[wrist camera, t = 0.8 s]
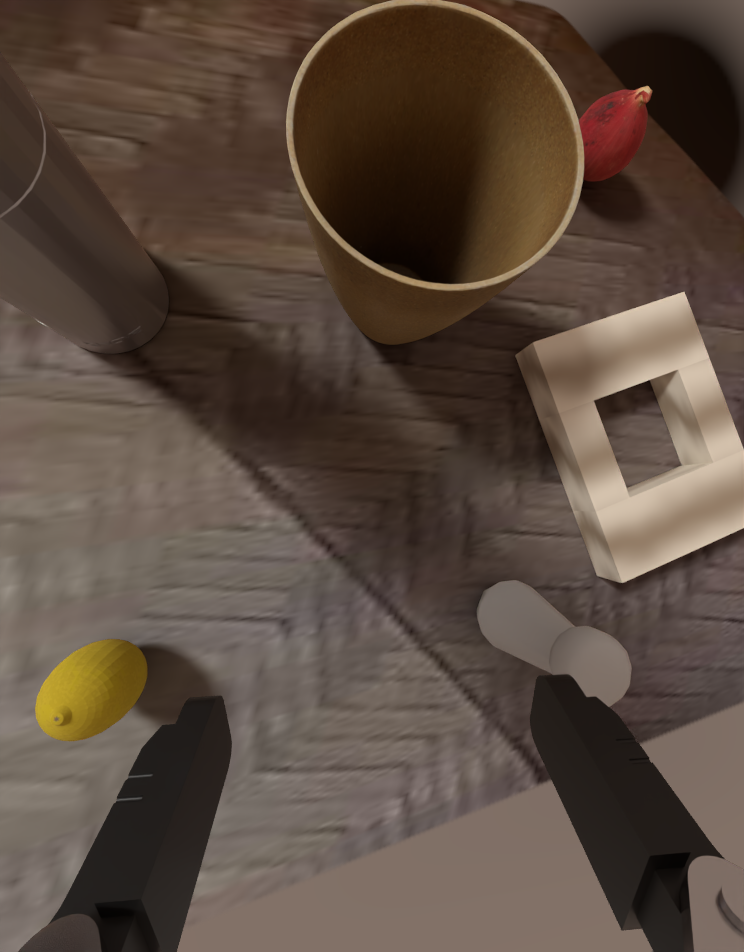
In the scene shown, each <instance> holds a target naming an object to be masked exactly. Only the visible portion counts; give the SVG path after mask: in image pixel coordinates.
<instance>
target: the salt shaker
mask: <svg viewBox="0 0 744 952" xmlns="http://www.w3.org/2000/svg"><path fill="white" fill-rule="evenodd" d="M476 611H477V619H478V622H479V626H480V629H481V632H482V634H483V635H484V636H485V637H486V638H487V639H488V641H489V642H490V643H491V644H492V645H493V646H494V647H496V648H498V649H500V650H502V651H504V652H507V653H509V654H511V655H513V656H515V657H517V658H519V659H521V660H524V661H526V662H528V663H530V664H532V665H534V666H536V667H538V668H541V669H543V670H545V671H547V672H549V673H551V674H552V675H558V674H569V675H571V676H572V677H573V678H574V679H575V681H576V682H577V683H578V685H579V686H580V688H581V689H582V691H583V692H584V694H585V695H586V697H593V696H596V697H598V698H599V699H600V700H601V701H602V702H603V703H605V704H606V705H607V706H608V707H610V706H611V705H613V704H614V703H616V702H617V701H618V700H620V699H621V698H622V697H623V696H624V694H625V693H626V691H627V689H628V687H629V686H630V679H631V669H632V667H631V663H630V660H629V656H628V653H627V651H626V650H625V649H624V648H623V647H622V645H621V644H620V643H619V642H618V641H617V640H616V639H614V638H613V637H612V636H611V635H609V634H607V633H604V632H602V631H600V630H597V629H595V628H592V627H590V626H579V627H575V626H574V625H573V624H572V623H571V622H569V621H568V620H567V619H566V618H565V617H564V616H563V615H562V614H561V613H560V612H558V611H557V610H556V609H555V608H554V607H553V606H552V605H551V604H550V603H549V602H547V601H546V600H545V599H544V598H543V597H542V596H541V595H540V594H539V593H538V592H536V591H535V590H534V589H533V588H532V587H531V586H529V585H527V584H524V583H522V582H520V581H517V580H511V581H502V582H498V583H497V584H495V585H493V586H492V587H490V588H489V589H486V590H484V591H483V593H482V596H481V599H480V602H479V604H478V607H477V610H476Z"/></svg>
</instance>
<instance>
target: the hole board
mask: <svg viewBox="0 0 744 952" xmlns="http://www.w3.org/2000/svg"><path fill="white" fill-rule="evenodd" d="M515 356H516V359H517V362H518V365H519V367H520V370H521V373H522V375H523V378H524V381H525V383H526V386H527V389H528V391H529V394H530V397H531V399H532V402H533V405H534V408H535V410H536V413H537V416H538V418H539V421H540V424H541V426H542V429H543V432H544V434H545V437H546V440H547V443H548V445H549V448H550V451H551V453H552V456H553V459H554V461H555V464H556V467H557V469H558V472H559V475H560V477H561V480H562V483H563V486H564V488H565V491H566V494H567V496H568V499H569V502H570V504H571V507H572V510H573V512H574V515H575V518H576V521H577V523H578V526H579V529H580V531H581V534H582V537H583V539H584V542H585V545H586V547H587V550H588V553H589V555H590V558H591V561H592V564H593V566H594V569H595V572H596V574H597V576H599V577H603V578H606V579H610V580H613V581H617V582H620V583H624V582H626V581H628V580H631V579H633V578H635V577H637V576H639V575H642V574H644V573H646V572H648V571H650V570H653V569H655V568H657V567H659V566H661V565H664V564H666V563H668V562H670V561H672V560H675V559H677V558H679V557H681V556H683V555H686V554H688V553H690V552H692V551H694V550H697V549H699V548H701V547H703V546H705V545H707V544H710V543H712V542H714V541H716V540H718V539H721V538H723V537H725V536H727V535H729V534H732V533H734V532H736V531H738V530H740V529H743V528H744V449H743V447H742V444H741V441H740V439H739V436H738V433H737V431H736V428H735V425H734V423H733V420H732V417H731V415H730V412H729V409H728V407H727V404H726V401H725V399H724V396H723V393H722V391H721V388H720V385H719V383H718V380H717V377H716V375H715V372H714V369H713V367H712V364H711V361H710V359H709V356H708V353H707V351H706V348H705V345H704V343H703V340H702V338H701V335H700V332H699V330H698V327H697V324H696V322H695V319H694V316H693V314H692V311H691V308H690V306H689V303H688V300H687V298H686V295H685V292H682V293H679V294H676V295H673V296H670V297H667V298H664V299H661V300H658V301H655V302H652V303H649V304H646V305H643V306H640V307H637V308H634V309H631V310H628V311H625V312H622V313H619V314H616V315H613V316H610V317H607V318H604V319H601V320H598V321H595V322H592V323H589V324H586V325H583V326H580V327H577V328H574V329H571V330H568V331H565V332H562V333H559V334H556V335H553V336H550V337H547V338H544V339H541V340H538V341H535V342H533V343H531V344H530V345H529V346H527V347H526V348H525V349H523V350H522V351H520V352H519V353H518V354H516V355H515ZM648 380H650V382H651V385H652V388H653V390H654V393H655V396H656V398H657V401H658V404H659V406H660V409H661V412H662V414H663V417H664V420H665V422H666V425H667V428H668V430H669V433H670V436H671V438H672V441H673V444H674V446H675V449H676V452H677V454H678V457H679V460H680V462H681V465H682V466H679V467H677V468H674V469H672V470H670V471H667V472H665V473H662V474H660V475H658V476H655V477H653V478H650V479H648V480H645V481H643V482H641V483H638V484H636V485H633V486H631V487H629V488H626V486H625V483H624V480H623V478H622V475H621V472H620V470H619V467H618V464H617V462H616V459H615V456H614V454H613V451H612V448H611V446H610V443H609V440H608V438H607V435H606V432H605V429H604V427H603V424H602V421H601V419H600V416H599V413H598V411H597V408H596V405H595V403H594V400H597V399H599V398H602V397H605V396H607V395H610V394H613V393H615V392H618V391H621V390H624V389H626V388H629V387H632V386H634V385H637V384H640V383H643V382H645V381H648Z"/></svg>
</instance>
